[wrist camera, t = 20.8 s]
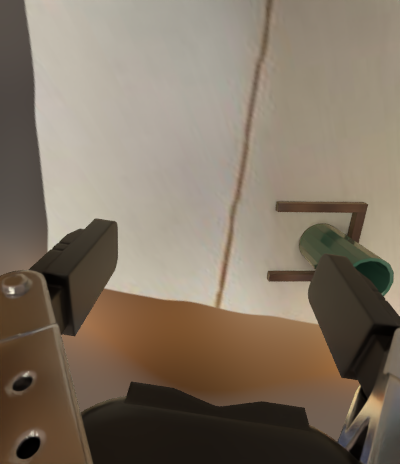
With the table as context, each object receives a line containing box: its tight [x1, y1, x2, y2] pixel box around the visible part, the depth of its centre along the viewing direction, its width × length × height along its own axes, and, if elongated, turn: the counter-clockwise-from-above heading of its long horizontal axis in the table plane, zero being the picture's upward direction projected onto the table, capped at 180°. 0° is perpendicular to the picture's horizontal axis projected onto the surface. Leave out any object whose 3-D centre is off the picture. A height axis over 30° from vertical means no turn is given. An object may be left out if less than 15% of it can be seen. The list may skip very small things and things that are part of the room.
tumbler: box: [299, 224, 394, 296], centre depth 34 cm, size 6×6×11 cm
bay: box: [267, 202, 368, 281], centre depth 38 cm, size 12×12×1 cm
